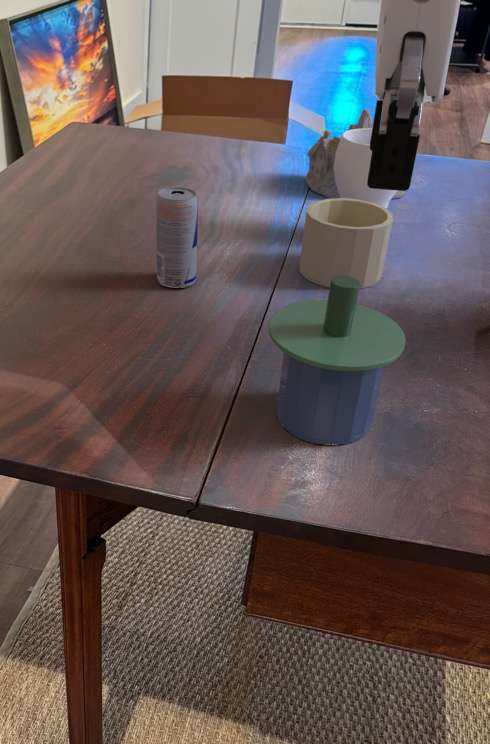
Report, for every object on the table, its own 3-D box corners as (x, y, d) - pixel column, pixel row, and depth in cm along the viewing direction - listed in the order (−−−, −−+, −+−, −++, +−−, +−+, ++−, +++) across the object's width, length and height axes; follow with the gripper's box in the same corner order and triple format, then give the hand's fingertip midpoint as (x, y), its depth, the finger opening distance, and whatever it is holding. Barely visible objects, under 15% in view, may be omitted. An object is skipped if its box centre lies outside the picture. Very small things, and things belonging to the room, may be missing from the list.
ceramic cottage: (415, 197, 126) (429, 105, 118) (332, 209, 123) (339, 114, 114) (372, 176, 139) (381, 91, 130) (294, 186, 135) (299, 98, 126)
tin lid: (340, 299, 75) (350, 243, 71) (432, 354, 66) (448, 294, 63) (241, 328, 69) (246, 268, 65) (328, 391, 61) (339, 328, 57)
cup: (330, 221, 117) (345, 124, 107) (396, 231, 114) (416, 132, 105) (317, 245, 109) (331, 142, 100) (387, 256, 106) (408, 151, 97)
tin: (342, 249, 108) (351, 193, 103) (398, 278, 100) (411, 218, 95) (283, 265, 103) (289, 206, 97) (337, 296, 95) (347, 235, 90)
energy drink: (196, 273, 100) (199, 187, 92) (195, 290, 95) (197, 201, 88) (158, 272, 100) (157, 185, 92) (155, 289, 96) (154, 199, 88)
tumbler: (327, 382, 79) (339, 308, 73) (390, 426, 72) (408, 349, 67) (258, 408, 74) (265, 332, 69) (318, 457, 68) (332, 378, 62)
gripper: (508, -88, 40) (440, 210, 51) (479, -96, 54) (429, 142, 64) (375, -91, 42) (335, 201, 52) (378, -98, 55) (346, 136, 66)
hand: (387, 168), depth 58 cm, fingers open, 9 cm apart
